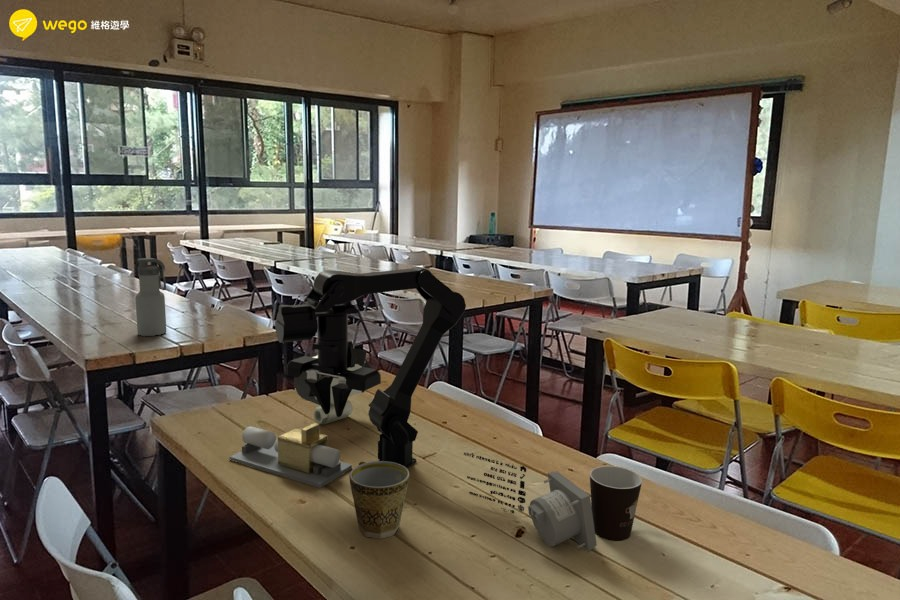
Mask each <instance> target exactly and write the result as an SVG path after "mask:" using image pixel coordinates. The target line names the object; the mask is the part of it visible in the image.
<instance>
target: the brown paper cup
mask: <svg viewBox="0 0 900 600" xmlns="http://www.w3.org/2000/svg"><path fill="white" fill-rule="evenodd" d="M589 484H590V485H589V487H590V500H591V507H592V515H593V522H594V529H595V536H598V537H599V538H600V539H603V540H607V541H611V542H622V541H626V540H628V539H629V538H630V537H631V534H632V531H633V530H632V529H633V525H634V521H635V515H636V511H637V506H638V502H639V497H640V494H641V488H642V484H643V478H642V476H640V475H639V473H637V472H636V471H634V470H632V469H628V468H626V467H622V466H618V465H616V466H615V465H602V466H601V465H600V466H597V467H594V468H592V469H591V470H590V472H589Z"/></svg>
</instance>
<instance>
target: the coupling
mask: <svg viewBox="0 0 900 600" xmlns="http://www.w3.org/2000/svg"><path fill="white" fill-rule="evenodd" d="M280 435H281V436H280ZM280 435H279V436H277V438H278V464H280V465H283V466H287V467H290V468H294V469H297V470H300V471H304V472H307V473H310V472H312V471H313V467H314V466H316V465H317V463H314V462H311V447H313V446H315V445H317V444H319V445H322V446H326V447H329V446H328V445H329V443H328V441H329V438H328V435H327V434H323V433H320V424H319V423H317V422H313V423H311V424H309V425H306V426H305V427H303V428H300V427H296V428H294V429H292V430H289V431H287V432H285V433H283V434H280Z"/></svg>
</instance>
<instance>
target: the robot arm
mask: <svg viewBox="0 0 900 600" xmlns="http://www.w3.org/2000/svg"><path fill="white" fill-rule="evenodd" d="M406 290H416V292H417V293H418V294H419V296H420V297H421V298H423V300H425V305H424V306H423V310H422V325H421V327H420V328H419V330H418V332H417V334H416V337H414V340H413V341H412V345H411V346H410V347H409V350H408V352H407V353H406V356H405V358H404V360H403V361H402V363H401V365H400V367H399V369H398V371H397V373H396V375H395V377H394V378H393V380H392V382H391V384H390V385H389V386H388V387H387V388H386V389H384V390H382V389H380V388H378V389H377V390H376V391H375V394H374V397H373V399H372V401H371V402H370V403H369V404H368V407H369V411H368V414H367V415H368V419H369V421H370V423H372V425H373V426H375V427H376V429H377V432H380V434H379V440H378V441H377V459H378V461H388V462H394V463H397V464H400V465H402V466H404V467H405V468H407V469H408V468H409V467H411V466H412V465H413V464H415V463H416V462H417V458H416V457H415V458H414V457H413V447H414V446H413V445H414V444H413V442H416V439H417V437H418V433H419V431H418V430H417V429H416V428H415V427H413V426H412V425H411V424H410V423H409V422H408V420H409V419H410V414H411V412H412V411H411V409H412V396H413V395H414V392H415V390H416V389H417V387H418V384H419V383H420V381H421V379H422V377H423V375H424V373H425V371H426V369H427V367H428V365H429V363H430V362H431V359H432V358H433V355H434V353H435V351H436V349H437V347H438V346H439V344H440V342H441V340H442V338H443V336H444V335H445V334H446V333H448V331H449V330H451V329H452V328H453V327H455V326H456V325H457V323H458V321H459V320H460V319H461V317H463V315H464V313H465V311H466V308H467V303H466V301H465V297H464V295H462V294H461V293H459V292H456V291H453V290H452V289H451V288H450V287H449V286H448V285H446V284H445V283H444V282H442V281H441V280H440V279H438V278H437V277H436V276H435V275H434V274H433V273H432V272H431V271H430V270H429V269H426V268H424V267H420V266H413V267H411V268H403V269H402V268H401V269H394V270H383V271H373V272H364V273H362V272H361V273H359V272H349V271H341V270H329V269H326V270H323V271H320V272H319V273H318V274H317V276H316V277H315V278H314V280H313V287H312V288H311V289H310V291H309V292H308V294H307V295H306V296H305V298H304V300H303V301H302V304H295V305H294V304H291V305H289V304H280V305H279V306H278V311H277V314H276V319H275V321H274V326H275V334H276V338H277V340H278V342H279V343H291V342H302V341H311V340H312V339H313V337H316V335H317V342H314V343H313V344H312V348H313V350H317V355H318V358H313V357H314V356H308V355H303V356H301V357H297V358H294V359H292V360H289V361H288V363H287V365H286V375H287V376H288V377H293V378H294V377H300V376H301V374H302V371H304V372H307V379H306V380H304V382H305V383H307V384H308V385H309V387H310V388H311V390H312V392H313V393H314V395H315V396H316V398H317V400H318V402H319V404H320V406H321V407H322V409H323V411H324V413H325V414H328V413H330V405H331V383H332V380H333V378H338V379H339V381H338V384H337V385H334V386H332V393H333V400H334V406H335V412H336V416H337V417H340V416H341V415H342V413H343V410H344V408H345V405H346V402H347V400H348V399H349V398H350V396H349V395H350V393H351V391H352V389H354V390H359V391H367V390H371V389H372V388H374V387H376V386H379V385H381V383H382V381H381V380H382V377H381V372H380V371H379V370H378V368H377V369H376V368H371V367H370V368H366V367H361V368H359V369H356V370H354V371H350V370H348V368H352V367H355V364H358V365H359V366H364V364H365V359H366V358H367V352H368V351H367V350H364V349H363V350H362V349H359V348H354V344H353V340H349V329H348V328H349V315H355V314H359V313H360V311H359V309H358V308H356V306H354V305H353V303H352V301H356V300H357V299H359V298H361V297H363V296H367V295H373V294H381V293H390V292H397V291H406ZM366 360H367V359H366ZM338 373H340V374H338Z"/></svg>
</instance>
